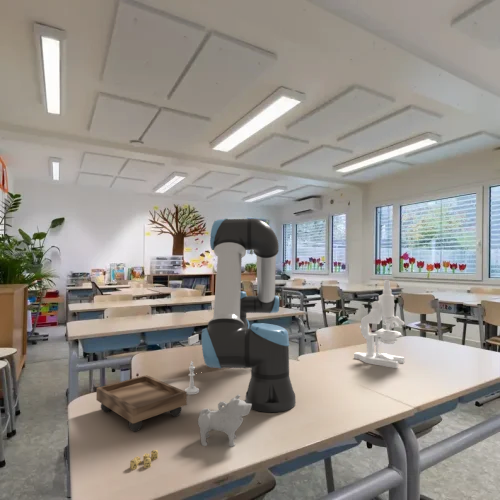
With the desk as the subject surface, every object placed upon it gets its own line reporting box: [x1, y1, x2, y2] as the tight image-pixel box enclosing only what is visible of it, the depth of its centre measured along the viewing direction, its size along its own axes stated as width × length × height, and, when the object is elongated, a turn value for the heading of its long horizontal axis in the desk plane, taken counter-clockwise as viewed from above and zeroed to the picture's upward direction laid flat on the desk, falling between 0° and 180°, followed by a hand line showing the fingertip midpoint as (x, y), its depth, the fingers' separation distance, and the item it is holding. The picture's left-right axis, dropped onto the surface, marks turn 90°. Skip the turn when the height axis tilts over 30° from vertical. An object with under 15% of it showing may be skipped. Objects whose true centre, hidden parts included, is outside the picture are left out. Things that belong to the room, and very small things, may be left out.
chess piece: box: [183, 360, 200, 395], centre depth 116 cm, size 5×5×10 cm
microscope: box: [353, 279, 406, 369], centre depth 150 cm, size 18×20×35 cm
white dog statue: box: [197, 394, 252, 448], centre depth 83 cm, size 5×13×11 cm, turn 87°
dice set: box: [129, 449, 159, 471], centre depth 74 cm, size 5×5×2 cm
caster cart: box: [96, 374, 188, 432], centre depth 99 cm, size 22×16×6 cm
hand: (205, 342), depth 126 cm, fingers open, 13 cm apart
